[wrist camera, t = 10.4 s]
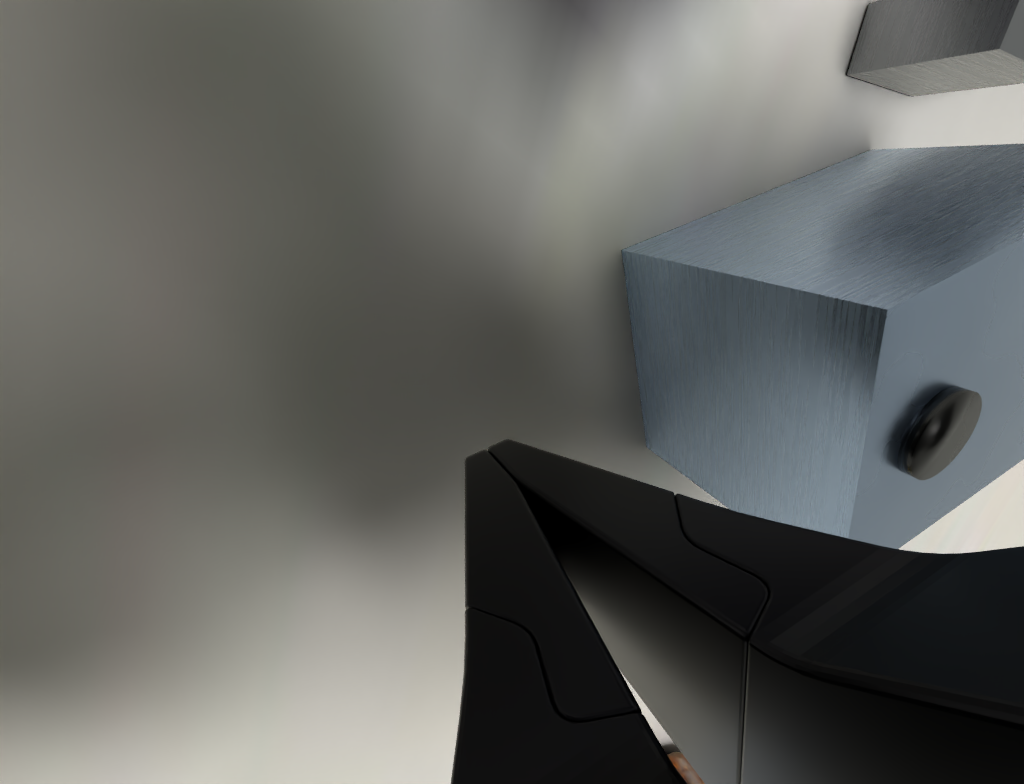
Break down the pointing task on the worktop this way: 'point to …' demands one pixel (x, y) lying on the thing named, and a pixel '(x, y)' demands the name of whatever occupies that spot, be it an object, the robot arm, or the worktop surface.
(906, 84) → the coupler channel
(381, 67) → the worktop surface
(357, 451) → the worktop surface
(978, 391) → the block
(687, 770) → the sauce bottle
